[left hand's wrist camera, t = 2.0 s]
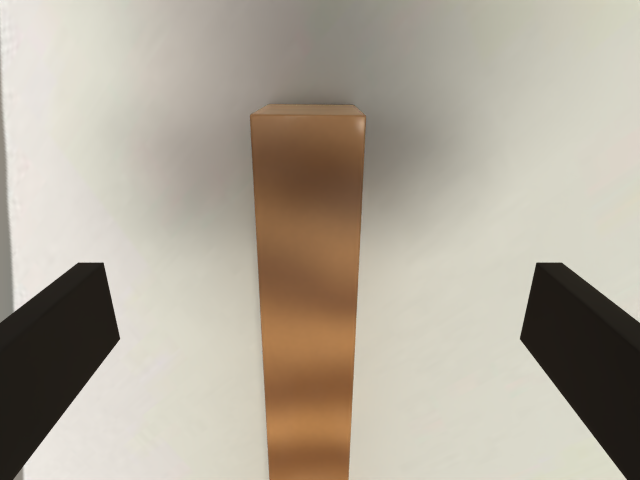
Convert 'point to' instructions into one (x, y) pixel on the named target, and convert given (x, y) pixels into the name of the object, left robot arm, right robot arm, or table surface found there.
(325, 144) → the bar
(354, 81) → the table surface
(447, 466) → the table surface
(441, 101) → the table surface
